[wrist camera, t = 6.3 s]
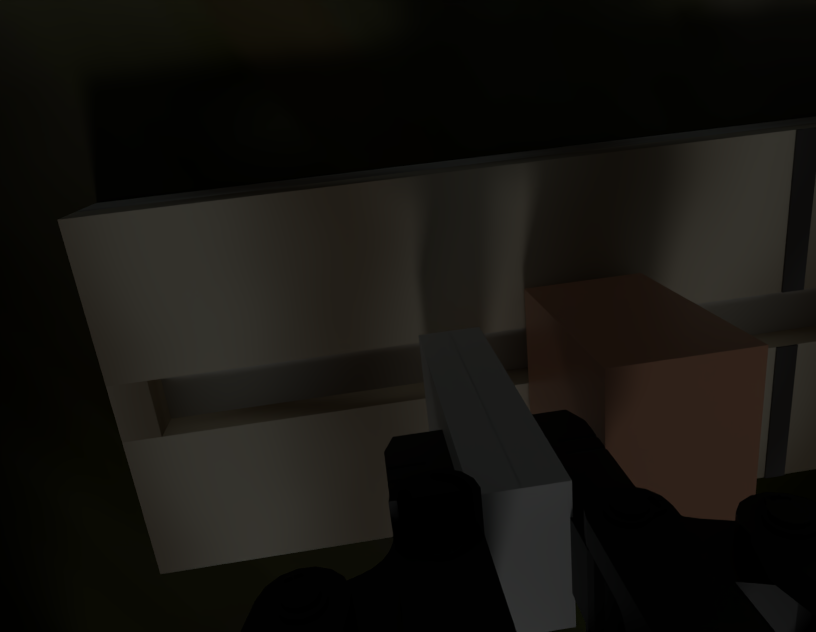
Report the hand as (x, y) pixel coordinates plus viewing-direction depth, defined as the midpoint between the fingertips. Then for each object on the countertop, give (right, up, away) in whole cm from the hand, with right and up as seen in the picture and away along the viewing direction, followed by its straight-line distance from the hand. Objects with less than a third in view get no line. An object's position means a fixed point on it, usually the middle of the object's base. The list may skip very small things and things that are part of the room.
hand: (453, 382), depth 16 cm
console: (+3, +1, +4) cm, 5 cm away
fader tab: (+3, +1, +2) cm, 4 cm away
